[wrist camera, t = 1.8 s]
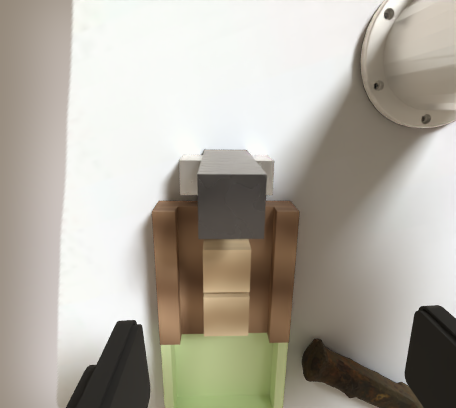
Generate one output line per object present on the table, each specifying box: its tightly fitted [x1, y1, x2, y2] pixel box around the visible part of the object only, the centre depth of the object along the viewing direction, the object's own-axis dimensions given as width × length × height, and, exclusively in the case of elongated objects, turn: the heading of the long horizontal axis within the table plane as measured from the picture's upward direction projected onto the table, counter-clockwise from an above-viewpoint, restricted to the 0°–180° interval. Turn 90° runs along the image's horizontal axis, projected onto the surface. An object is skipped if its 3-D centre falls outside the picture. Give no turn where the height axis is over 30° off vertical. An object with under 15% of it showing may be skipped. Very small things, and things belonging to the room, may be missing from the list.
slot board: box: [152, 201, 299, 345], centre depth 31 cm, size 14×13×4 cm
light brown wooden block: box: [203, 292, 250, 336], centre depth 29 cm, size 4×4×4 cm
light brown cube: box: [203, 239, 251, 293], centre depth 28 cm, size 4×4×4 cm
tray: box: [161, 333, 288, 408], centre depth 35 cm, size 11×13×3 cm
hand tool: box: [302, 339, 424, 408], centre depth 36 cm, size 19×4×5 cm, turn 58°
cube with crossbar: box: [179, 150, 274, 239], centre depth 24 cm, size 4×8×12 cm, turn 89°
